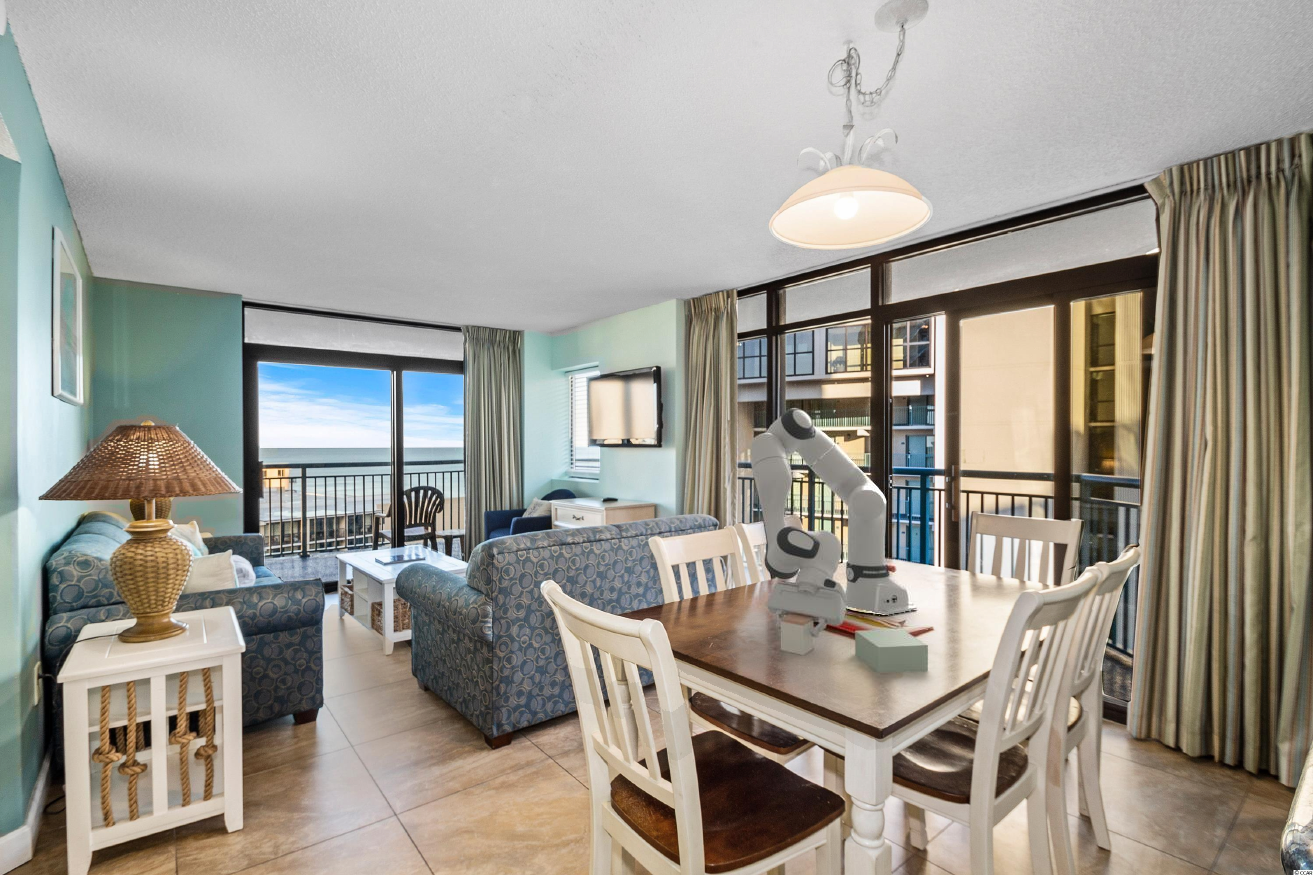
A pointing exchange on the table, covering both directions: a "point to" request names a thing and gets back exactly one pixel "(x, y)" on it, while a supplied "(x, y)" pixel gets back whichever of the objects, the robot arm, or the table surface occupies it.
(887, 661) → the green box
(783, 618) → the white brown-topped block
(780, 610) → the robot arm
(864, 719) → the table surface
